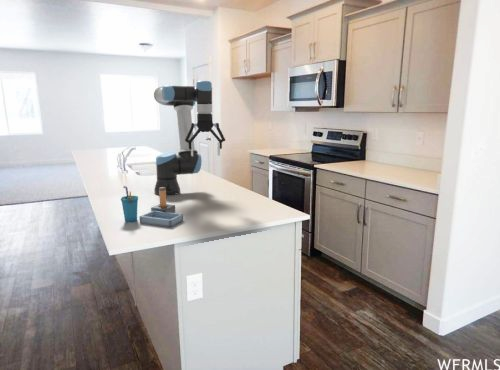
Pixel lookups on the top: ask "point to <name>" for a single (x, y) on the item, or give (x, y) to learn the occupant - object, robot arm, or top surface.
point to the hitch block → (167, 209)
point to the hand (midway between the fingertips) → (205, 155)
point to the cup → (129, 207)
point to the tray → (161, 218)
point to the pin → (162, 197)
